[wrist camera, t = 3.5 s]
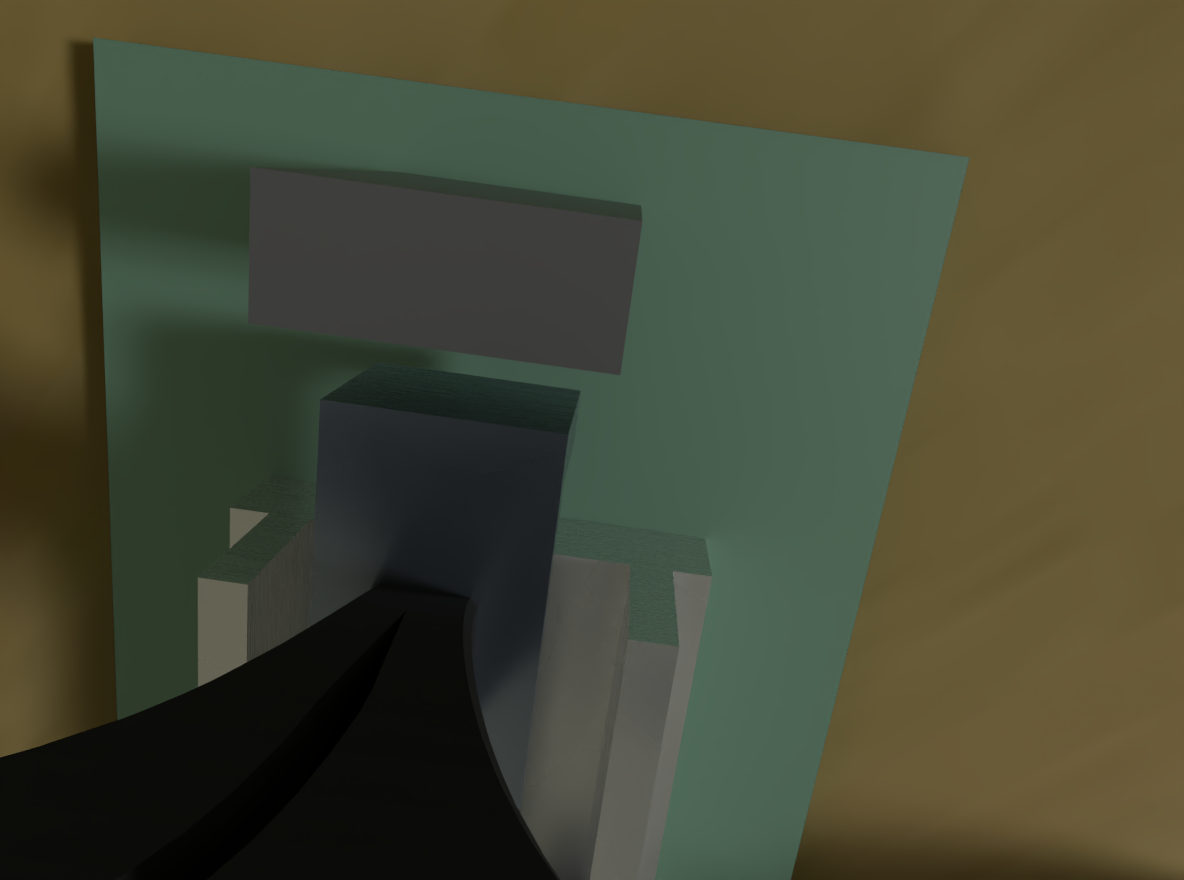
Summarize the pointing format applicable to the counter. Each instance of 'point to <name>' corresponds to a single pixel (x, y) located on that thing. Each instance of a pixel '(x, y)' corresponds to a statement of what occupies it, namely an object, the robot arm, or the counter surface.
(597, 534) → the heat sink
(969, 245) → the counter surface
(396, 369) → the metal bar
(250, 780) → the robot arm
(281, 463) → the motherboard
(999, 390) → the counter surface
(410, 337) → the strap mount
